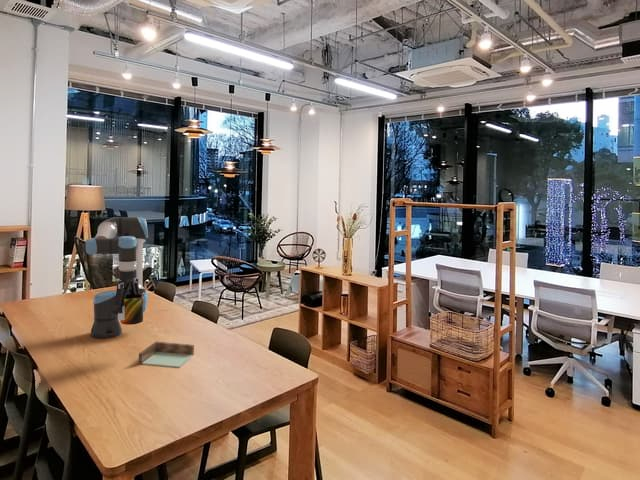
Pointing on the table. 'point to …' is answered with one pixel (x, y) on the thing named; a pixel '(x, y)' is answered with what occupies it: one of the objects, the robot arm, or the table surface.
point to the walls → (165, 350)
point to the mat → (167, 359)
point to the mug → (133, 309)
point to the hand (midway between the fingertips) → (128, 316)
